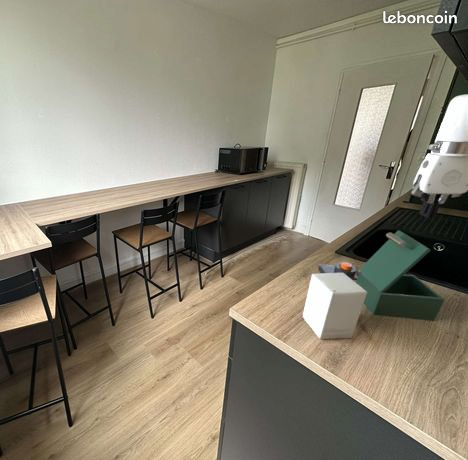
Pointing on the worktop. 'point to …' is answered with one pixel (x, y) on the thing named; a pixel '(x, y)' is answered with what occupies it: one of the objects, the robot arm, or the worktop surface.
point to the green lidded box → (402, 299)
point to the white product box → (333, 305)
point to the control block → (338, 270)
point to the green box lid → (393, 260)
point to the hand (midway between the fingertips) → (426, 215)
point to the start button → (346, 266)
